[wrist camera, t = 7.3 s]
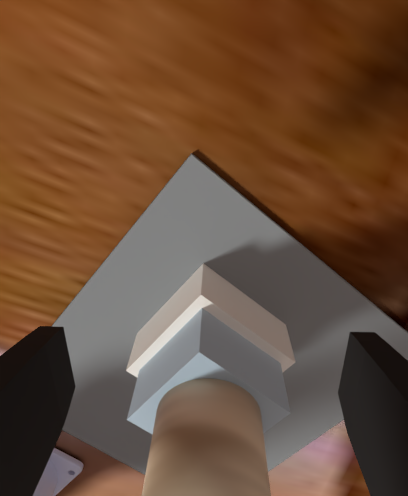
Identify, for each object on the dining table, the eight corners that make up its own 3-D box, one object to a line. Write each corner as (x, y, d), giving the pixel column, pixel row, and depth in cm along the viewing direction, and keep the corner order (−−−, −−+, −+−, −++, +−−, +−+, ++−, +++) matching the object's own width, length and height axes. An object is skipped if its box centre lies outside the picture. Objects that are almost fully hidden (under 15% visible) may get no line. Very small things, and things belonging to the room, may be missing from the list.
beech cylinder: (214, 466, 18) (213, 600, 14) (135, 420, 17) (106, 550, 12) (283, 414, 17) (307, 547, 12) (201, 360, 15) (193, 485, 11)
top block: (214, 417, 21) (214, 470, 18) (139, 370, 20) (126, 419, 17) (280, 363, 19) (290, 413, 16) (202, 307, 18) (199, 352, 15)
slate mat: (211, 506, 30) (211, 510, 30) (-2, 391, 25) (-4, 394, 25) (432, 352, 23) (435, 356, 22) (191, 153, 18) (191, 154, 18)
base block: (216, 384, 24) (216, 426, 21) (137, 333, 22) (125, 370, 20) (286, 324, 22) (295, 362, 19) (203, 263, 20) (200, 294, 18)
